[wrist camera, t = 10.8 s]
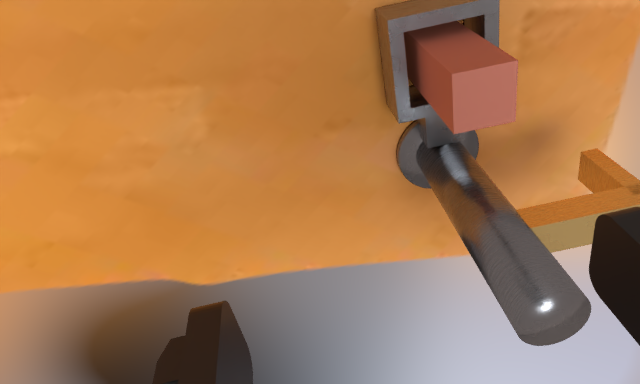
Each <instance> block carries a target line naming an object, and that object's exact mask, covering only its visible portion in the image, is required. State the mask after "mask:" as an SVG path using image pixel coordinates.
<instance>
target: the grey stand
mask: <svg viewBox="0 0 640 384" xmlns="http://www.w3.org/2000/svg"><path fill="white" fill-rule="evenodd" d="M375 11H376V19H377V27H378V35H379V44H380V52H381V60H382V68H383V76H384V85H385V93H386V101H387V105H388V107H389V108H390V110H391V112H392V113H393V115H394V117H395V118H396V120H397V121H398V123H403V122H408V121H412V120H416V121H415V122H414V123H412V124H411V125H410V126H409V127H408V128H407V129H406V131H405V132H404V133H403V135H402V137H401V139H400V141H399V143H398V147H397V161H398V164H399V167H400V169H401V171H402V173H403V175H404V176H405V177H406V178H407V179H408V180H409V181H410V182H411V183H413V184H415V185H417V186H420V187H423V188H432V190H433V191H434V193H435V195H436V196H437V198H438V200H439V202H440V203H441V205H442V207H443V208H444V210H445V212H446V213H447V215H448V217H449V219H450V220H451V222H452V224H453V225H454V227H455V229H456V231H457V232H458V234H459V236H460V237H461V239H462V241H463V243H464V244H465V246H466V248H467V249H468V251H469V253H470V254H471V256H472V258H473V259H474V261H475V263H476V264H477V266H478V268H479V270H480V272H481V273H482V275H483V277H484V278H485V280H486V282H487V284H488V285H489V287H490V289H491V290H492V292H493V294H494V296H495V297H496V299H497V301H498V302H499V304H500V306H501V307H502V309H503V311H504V313H505V314H506V316H507V318H508V319H509V321H510V323H511V324H512V326H513V328H514V330H515V331H516V333H517V335H518V336H519V338H520V339H521V340H522V341H524V342H525V343H528V344H531V345H537V346H543V345H551V344H555V343H558V342H561V341H563V340H565V339H567V338H569V337H571V336H572V335H574V334H575V333H576V332H578V331H579V330H580V329H581V328H582V327H583V326H584V324H585V323H586V322H587V320H588V318H589V316H590V313H591V304H590V302H589V300H588V298H587V297H586V296H585V295H584V293H583V292H582V291H581V290H580V289H579V287H578V286H577V285H576V284H575V282H574V281H573V280H572V279H571V277H570V276H569V275H568V274H567V273H566V271H565V270H564V269H563V268H562V266H561V265H560V264H559V263H558V261H557V260H556V259H555V258H554V257H553V255H552V254H551V253H552V252H556V251H561V250H566V249H570V248H575V247H579V246H584V245H589V244H592V242H593V235H594V228H595V222H596V219H597V217H598V216H600V215H602V214H606V213H610V212H615V211H619V210H623V209H628V208H632V207H640V180H638V179H637V178H636V177H634V176H633V175H632V174H630V173H629V172H628V171H626V170H625V169H623V168H622V167H621V166H620V165H618V164H617V163H616V162H614V161H613V160H612V159H610V158H609V157H608V156H606V155H605V154H604V153H602V152H601V151H600V150H598V149H592V150H588V151H583V152H581V157H580V166H579V174H578V180H579V181H580V182H581V183H583V184H584V185H585V186H586V187H587V188H588V189H589V190H590V191H592V192H593V194H588V195H584V196H579V197H574V198H570V199H565V200H561V201H556V202H551V203H547V204H542V205H538V206H533V207H528V208H524V209H519V210H515V208H514V207H513V206H512V205H511V203H510V202H509V201H508V200H507V199H506V197H505V196H504V195H503V194H502V192H501V191H500V190H499V189H498V187H497V186H496V185H495V184H494V183H493V181H492V180H491V179H490V178H489V176H488V175H487V174H486V173H485V171H484V170H483V169H482V168H481V166H480V165H479V164H478V163H477V162H476V157H477V154H478V148H479V143H478V137H477V134H476V132H475V130H472V131H467V132H463V133H458V134H453V133H452V131H451V130H450V129H449V128H448V126H447V125H446V124H445V123H444V122H443V120H442V119H441V118H440V117H439V115H438V114H437V113H436V112H435V110H434V109H433V108H432V107H431V105H430V104H429V103H428V102H427V101H426V99H425V98H424V97H423V96H422V94H421V93H420V92H419V91H418V89H417V88H416V87H415V86H413V87H409V86H408V75H407V64H406V54H405V43H404V32H407V31H412V30H416V29H421V28H425V27H430V26H434V25H439V24H443V23H448V22H452V21H457V20H461V19H464V26H465V27H467V28H468V29H470V30H472V31H473V32H475V33H476V34H478V35H479V36H481V37H483V38H484V39H486V40H487V41H489V42H490V43H492V44H493V45H495V46H497V47H498V48H499V0H411V1H407V2H402V3H398V4H393V5H389V6H384V7H380V8H375Z"/></svg>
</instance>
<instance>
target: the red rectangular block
mask: <svg viewBox="0 0 640 384" xmlns="http://www.w3.org/2000/svg"><path fill="white" fill-rule="evenodd" d="M404 43H405V54H406V64H407V75H408V78H409V80H410V81H411V82H412V83H413V84H414V86H415V87H416V88H417V89H418V91H419V92H420V93H421V94H422V96H423V97H424V98H425V99H426V101H427V102H428V103H429V104H430V105H431V107H432V108H433V109H434V110H435V112H436V113H437V114H438V115H439V117H440V118H441V119H442V120H443V122H444V123H445V124H446V125H447V126H448V128H449V129H450V130H451V131H452V133H453V134H458V133H463V132H467V131H472V130H477V129H482V128H486V127H491V126H496V125H501V124H506V123H510V122H515V119H516V96H517V73H518V60H517V59H515V58H514V57H512V56H511V55H509V54H507V53H506V52H504V51H503V50H501V49H500V48H498V47H497V46H495V45H493V44H492V43H490V42H489V41H487V40H486V39H484V38H483V37H481V36H479V35H478V34H476V33H475V32H473V31H472V30H470V29H468V28H467V27H465V26H464V25H462V24H461V23H459V22H458V21H452V22H448V23H443V24H439V25H434V26H430V27H425V28H421V29H416V30H412V31H407V32H404Z"/></svg>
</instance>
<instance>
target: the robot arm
mask: <svg viewBox="0 0 640 384" xmlns="http://www.w3.org/2000/svg"><path fill="white" fill-rule="evenodd" d="M589 274H590V279H591V282H592V284H593V287H594V289H595V291H596V292H597V294H598V295H599V297H600V298H601V299H602V301H603V302H604V303H605V304H606V305H607V306H608V308H609V309H610V310H611V311H612V313H613V314H614V315H615V316H616V317H617V319H618V320H619V321H620V322H621V324H622V325H623V326H624V327H625V328H626V330H627V331H628V332H629V333H630V334H631V336H632V337H633V338H634V339H635V340H636V342H637V343H638V344H639V345H640V207H632V208H628V209H623V210H619V211H615V212H610V213H606V214H602V215H600V216H598V217H597V219H596V222H595V228H594V235H593V242H592V250H591V257H590V264H589ZM153 384H253V371H252V361H251V356H250V352H249V348H248V346H247V343H246V341H245V338H244V336H243V334H242V332H241V330H240V327H239V325H238V323H237V321H236V318H235V316H234V314H233V312H232V309H231V307H230V305H229V303H228V302H227V301H222V302H218V303H213V304H209V305H205V306H200V307H196V308H192V309H191V310H190V313H189V317H188V324H187V330H186V336H181V337H177V338H173V339H171V340H170V341H169V343H168V345H167V346H166V348H165V350H164V351H163V353H162V354H161V356H160V358H159V360H158V361H157V365H156V370H155V374H154V379H153Z"/></svg>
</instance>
